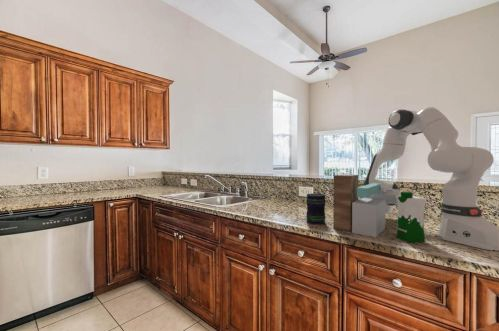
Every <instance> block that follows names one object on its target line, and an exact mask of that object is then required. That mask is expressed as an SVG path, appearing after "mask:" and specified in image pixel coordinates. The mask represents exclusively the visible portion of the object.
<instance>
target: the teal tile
mask: <svg viewBox="0 0 499 331" xmlns="http://www.w3.org/2000/svg"><path fill="white" fill-rule="evenodd" d="M379 186H381V184H376V183H372V184H368V185H365V186H363V185H362V186H358V188H357V197H358V198H362V197H365V198H367V197H370V196H372V195H374V194H376V193H379V192H381V191H380V190H379Z"/></svg>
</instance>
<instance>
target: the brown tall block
mask: <svg viewBox="0 0 499 331" xmlns="http://www.w3.org/2000/svg"><path fill="white" fill-rule="evenodd" d="M358 187H359V174H345V173H343V174H334V175H333V209H332V210H333V216H332V217H333V218H332V220H333V222H332V223H333V224H332V226H333V229H334V230H338V231H344V232H350V233H351V232H352V202H355V201H357V200H359V197H357V188H358Z"/></svg>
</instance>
